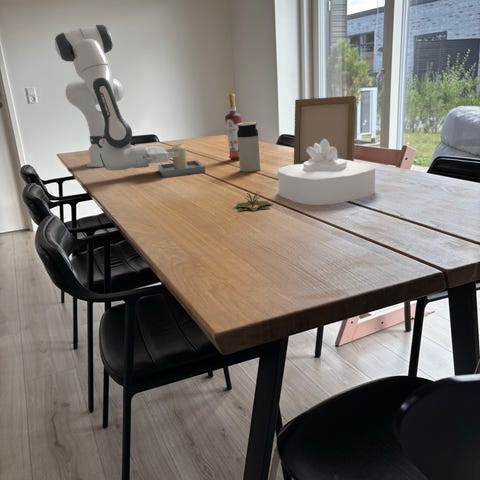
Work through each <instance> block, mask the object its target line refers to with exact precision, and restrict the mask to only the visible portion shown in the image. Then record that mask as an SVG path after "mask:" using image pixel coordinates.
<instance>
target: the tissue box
mask: <svg viewBox="0 0 480 480" xmlns="http://www.w3.org/2000/svg"><path fill="white" fill-rule="evenodd" d="M313 147H314V148H312V147H308V148H307V150H306V151H307V152H308V154H309V155H310V156H311V157H312V158H311V159H309V161H306V162H304V164H296V165H294V164H290V165H285V166H282V167H279V169H277V181H278V195H279V196H280V197H282V198H284V199H287V200H289V201H293V202H295V203H298V204H302V205H309V206H310V205H312V206H322V205H323V206H325V205H333V204H339V203H345V202H349V201H354V200H359V199H364V198H367V197H370V196H373V195H374V194H375V192H376V166H375V165H373V164H370V163H361V162H356V161H355V160H354V161H350V160H344V159H338V156H337V149H336V148H335V147H330V145H329V142H328V141H327V140H326V139H325V138H324V139H323V140H322V141H321V142H320V145H319V144H317V143H315V144H314V146H313Z"/></svg>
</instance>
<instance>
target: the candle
mask: <svg viewBox="0 0 480 480" xmlns="http://www.w3.org/2000/svg"><path fill="white" fill-rule="evenodd" d="M171 149H172V152H177V151H178V152H179V156H177V157H173V158H172V163H173V165H174V169H181V168H187V153H186V147H185V146H184V145H182V144H181V143H179V144H174V145H173V146H172V147H171Z"/></svg>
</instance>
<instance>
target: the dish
mask: <svg viewBox="0 0 480 480" xmlns="http://www.w3.org/2000/svg"><path fill="white" fill-rule="evenodd" d="M157 169H158V172H159V174H160V176H161V177H162V178H163V179H165V178H172V177H180V176H188V175H195V174H204V173H206V166H205V165H204V164H203V163H201V162H200V161H199V160H198V159H194V160H188V161H187V168H181V169H174V165H173V162H172V163H171V162H169V163H163V164H158V165H157Z"/></svg>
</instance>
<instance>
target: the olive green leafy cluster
mask: <svg viewBox="0 0 480 480" xmlns="http://www.w3.org/2000/svg"><path fill="white" fill-rule="evenodd" d="M260 193H261V191H259V190H258V191H256V193H255V194H254V195H253V197H252V195H251V194H250V192H246V195H247V196H246V197H245V196H244V199H245V200H247V201H246V202H237V205H235V206H234V207H233V208H238V209H237V212H240V211H241V212H242V211H246V210H251V211H253V212H256V211H257V210H259V209H267V210H271V208H270V205H271V206H272V205H273V206H274V204H273V203H270V202H268V200H260V201H259V200H258V199H260V198H261V197H260V196H258V195H259V194H260ZM255 206H256V207H255ZM261 207H262V208H261ZM246 208H247V209H246ZM248 208H249V209H248Z"/></svg>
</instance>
